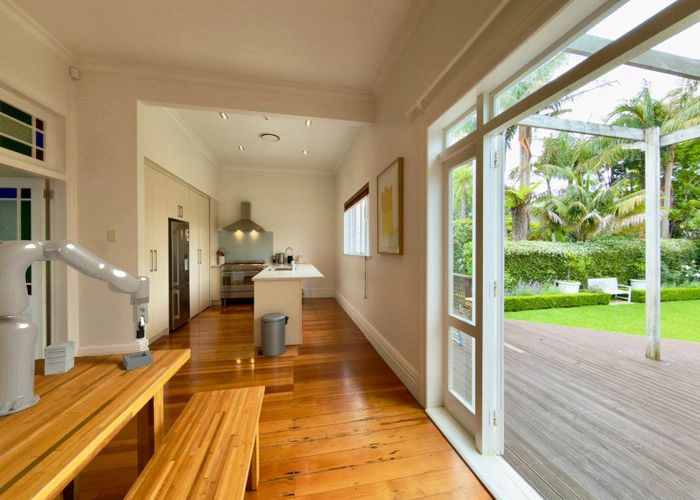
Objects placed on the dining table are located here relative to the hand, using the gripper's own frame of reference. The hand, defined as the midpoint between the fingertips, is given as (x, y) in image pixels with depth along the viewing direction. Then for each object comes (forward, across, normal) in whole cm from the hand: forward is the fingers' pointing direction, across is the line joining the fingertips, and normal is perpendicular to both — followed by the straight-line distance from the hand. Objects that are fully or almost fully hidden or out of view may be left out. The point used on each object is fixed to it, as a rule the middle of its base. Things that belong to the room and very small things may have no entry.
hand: (139, 336), depth 132 cm
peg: (+2, 0, 0) cm, 2 cm away
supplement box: (+13, +16, +27) cm, 34 cm away
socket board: (+13, 0, +1) cm, 14 cm away
